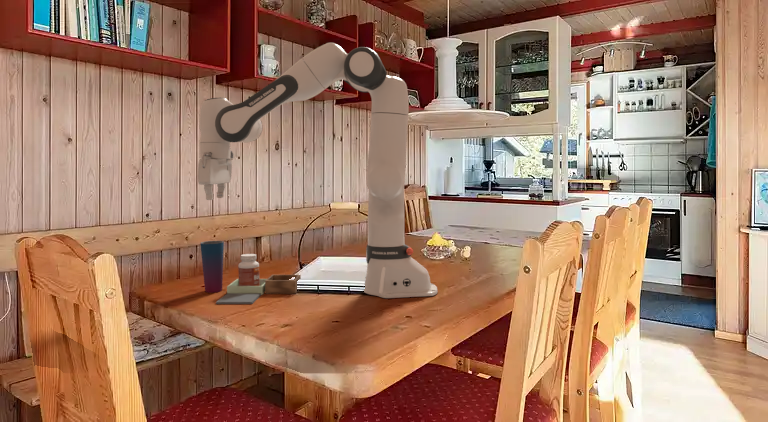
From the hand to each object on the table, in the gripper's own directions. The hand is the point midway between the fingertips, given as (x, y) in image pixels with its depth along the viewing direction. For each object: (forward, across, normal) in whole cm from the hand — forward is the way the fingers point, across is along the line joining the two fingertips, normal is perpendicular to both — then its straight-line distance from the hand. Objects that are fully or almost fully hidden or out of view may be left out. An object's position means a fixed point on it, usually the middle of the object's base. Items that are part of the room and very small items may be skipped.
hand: (215, 198), depth 161 cm
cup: (+28, 0, +1) cm, 28 cm away
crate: (+28, 0, -21) cm, 35 cm away
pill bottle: (+28, 0, -10) cm, 30 cm away
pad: (+28, -11, -10) cm, 32 cm away
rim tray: (+28, 0, -10) cm, 30 cm away
